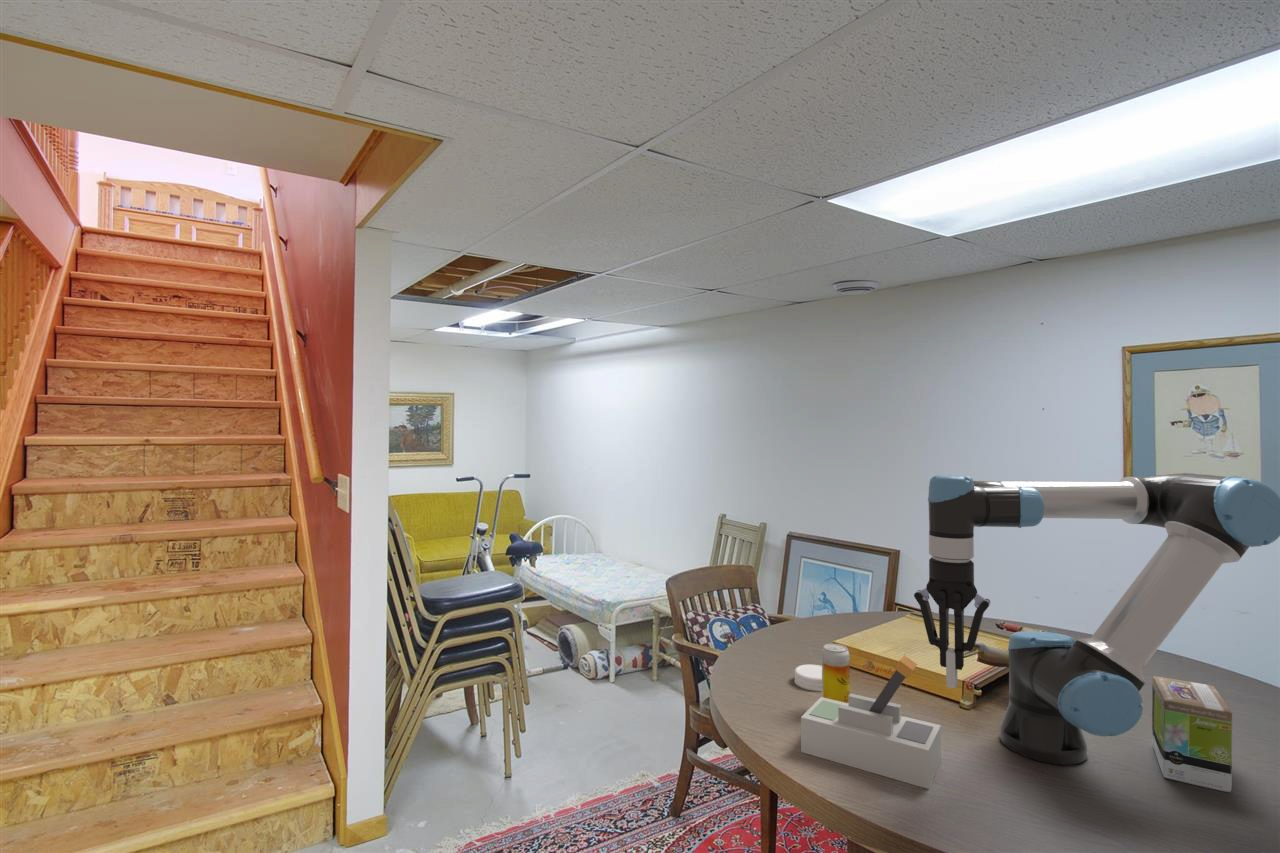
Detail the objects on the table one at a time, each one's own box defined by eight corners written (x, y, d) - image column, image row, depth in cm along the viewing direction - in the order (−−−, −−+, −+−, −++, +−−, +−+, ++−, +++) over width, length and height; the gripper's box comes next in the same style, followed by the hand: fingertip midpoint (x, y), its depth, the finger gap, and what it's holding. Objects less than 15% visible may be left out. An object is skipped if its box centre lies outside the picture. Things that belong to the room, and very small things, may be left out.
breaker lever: (880, 718, 129) (917, 664, 125) (875, 725, 126) (913, 670, 122) (868, 708, 130) (904, 654, 127) (862, 715, 127) (899, 660, 123)
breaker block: (941, 761, 126) (940, 710, 126) (928, 789, 117) (928, 733, 117) (821, 729, 140) (820, 683, 140) (801, 751, 130) (800, 702, 130)
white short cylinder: (839, 682, 167) (839, 668, 167) (828, 695, 159) (828, 681, 159) (801, 674, 172) (801, 661, 172) (789, 686, 164) (788, 673, 164)
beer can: (851, 719, 145) (850, 652, 145) (823, 717, 146) (822, 650, 146) (848, 708, 151) (847, 644, 151) (821, 706, 152) (820, 642, 152)
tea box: (1234, 795, 114) (1233, 711, 115) (1162, 779, 120) (1161, 699, 120) (1215, 758, 127) (1214, 683, 127) (1150, 745, 133) (1150, 673, 133)
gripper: (993, 558, 119) (994, 686, 119) (918, 551, 127) (918, 671, 127) (988, 565, 113) (989, 700, 113) (909, 557, 121) (910, 684, 121)
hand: (951, 685), depth 120 cm, fingers closed
